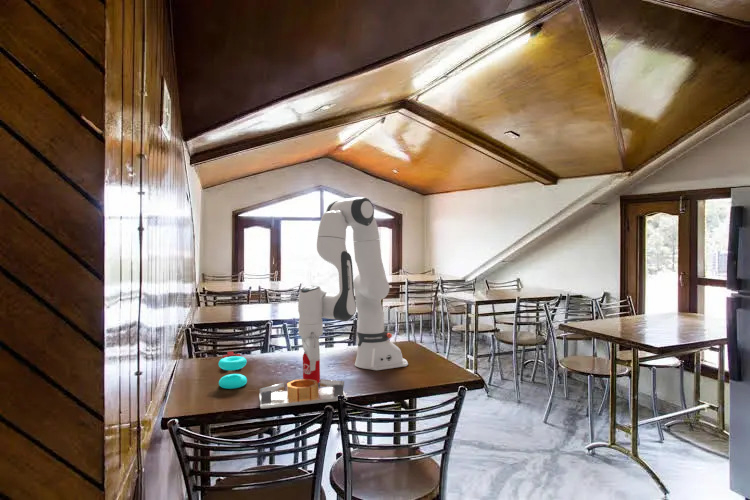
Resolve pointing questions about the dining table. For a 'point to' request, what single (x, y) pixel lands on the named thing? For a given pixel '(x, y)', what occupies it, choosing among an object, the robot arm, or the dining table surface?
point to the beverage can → (307, 372)
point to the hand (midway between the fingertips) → (311, 367)
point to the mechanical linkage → (231, 355)
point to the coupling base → (301, 393)
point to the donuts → (232, 379)
